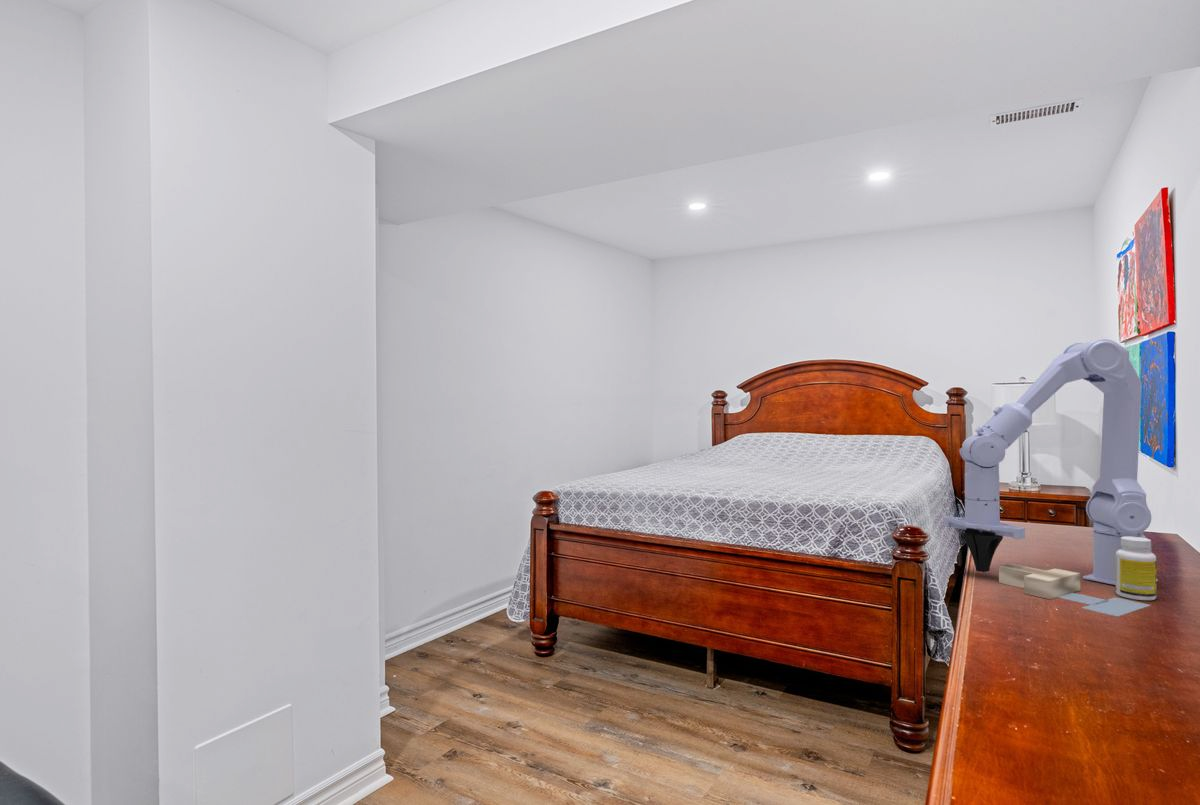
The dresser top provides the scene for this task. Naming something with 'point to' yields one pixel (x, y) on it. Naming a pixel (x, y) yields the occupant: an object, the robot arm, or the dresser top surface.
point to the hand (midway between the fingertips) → (982, 570)
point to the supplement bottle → (1136, 569)
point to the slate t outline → (1106, 604)
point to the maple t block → (1040, 580)
